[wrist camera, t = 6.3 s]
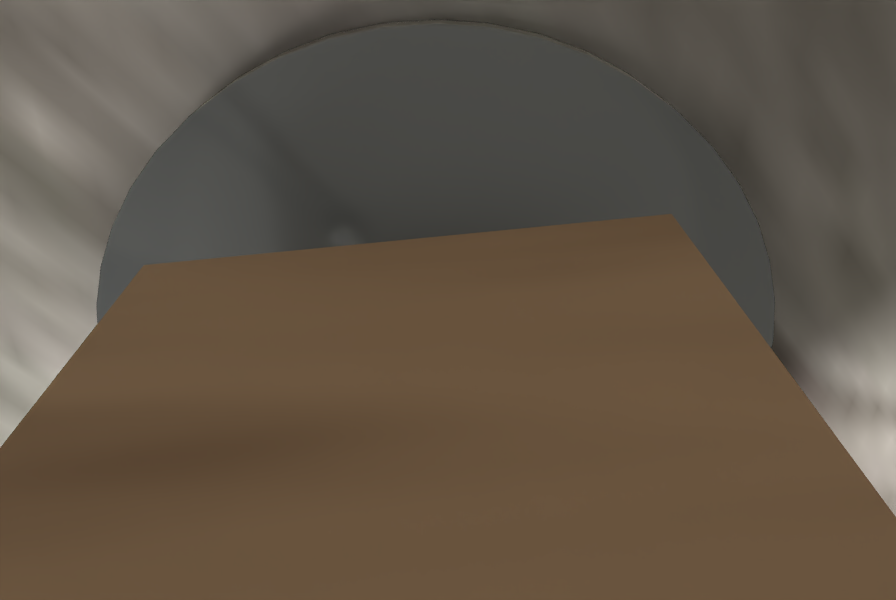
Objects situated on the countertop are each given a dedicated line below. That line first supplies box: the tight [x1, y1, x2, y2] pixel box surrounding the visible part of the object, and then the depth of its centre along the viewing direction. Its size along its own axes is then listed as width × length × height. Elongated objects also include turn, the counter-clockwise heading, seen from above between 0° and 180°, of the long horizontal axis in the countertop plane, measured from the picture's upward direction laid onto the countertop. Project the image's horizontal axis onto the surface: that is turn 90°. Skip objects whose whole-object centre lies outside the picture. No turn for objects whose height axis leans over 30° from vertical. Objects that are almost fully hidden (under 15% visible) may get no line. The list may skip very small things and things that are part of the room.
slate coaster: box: [97, 19, 775, 348], centre depth 11 cm, size 10×10×1 cm
